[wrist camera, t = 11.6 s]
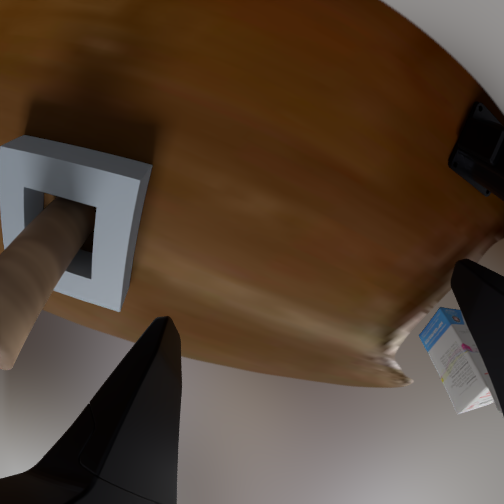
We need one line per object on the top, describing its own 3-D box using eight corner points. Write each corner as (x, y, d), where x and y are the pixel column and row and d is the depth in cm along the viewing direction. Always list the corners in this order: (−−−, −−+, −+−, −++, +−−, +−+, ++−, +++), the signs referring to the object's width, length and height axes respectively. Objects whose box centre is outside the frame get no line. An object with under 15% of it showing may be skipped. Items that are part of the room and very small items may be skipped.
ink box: (416, 336, 31) (464, 440, 18) (439, 305, 28) (500, 412, 16) (455, 337, 33) (500, 423, 20) (476, 310, 30) (530, 397, 18)
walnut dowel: (86, 186, 19) (-21, 312, 8) (102, 233, 21) (27, 373, 10) (46, 196, 19) (-57, 312, 8) (63, 240, 21) (-16, 366, 10)
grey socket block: (152, 165, 19) (140, 180, 16) (129, 287, 24) (119, 312, 21) (24, 134, 16) (0, 146, 13) (23, 253, 21) (8, 272, 19)
